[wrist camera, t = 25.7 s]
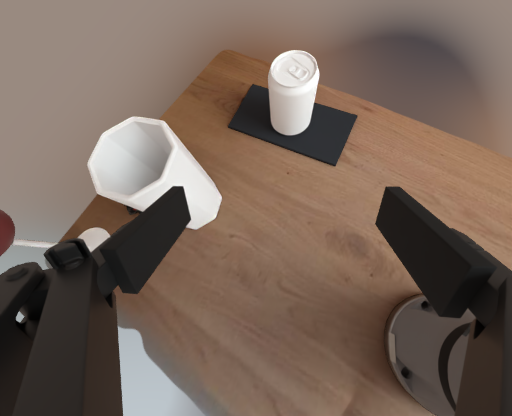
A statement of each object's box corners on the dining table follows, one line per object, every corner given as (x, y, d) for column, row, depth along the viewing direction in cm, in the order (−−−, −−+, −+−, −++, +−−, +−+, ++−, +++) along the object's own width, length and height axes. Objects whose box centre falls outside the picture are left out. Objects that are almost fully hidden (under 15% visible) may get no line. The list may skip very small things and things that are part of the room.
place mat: (356, 117, 42) (357, 115, 41) (335, 166, 40) (335, 165, 39) (253, 86, 47) (252, 83, 47) (228, 127, 45) (228, 125, 44)
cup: (158, 208, 42) (67, 167, 24) (193, 167, 43) (133, 99, 26) (197, 241, 39) (127, 221, 21) (233, 196, 41) (196, 142, 23)
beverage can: (288, 98, 45) (291, 40, 33) (318, 118, 42) (332, 63, 31) (263, 122, 44) (256, 71, 32) (291, 144, 41) (295, 97, 30)
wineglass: (123, 240, 41) (-63, 211, 19) (88, 284, 39) (-159, 308, 17) (94, 216, 43) (-101, 164, 21) (60, 256, 41) (-190, 246, 19)
